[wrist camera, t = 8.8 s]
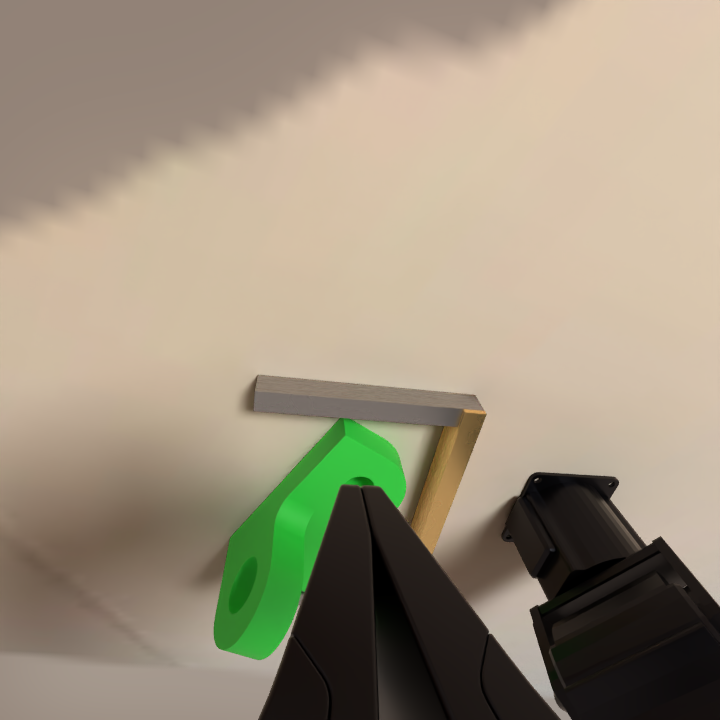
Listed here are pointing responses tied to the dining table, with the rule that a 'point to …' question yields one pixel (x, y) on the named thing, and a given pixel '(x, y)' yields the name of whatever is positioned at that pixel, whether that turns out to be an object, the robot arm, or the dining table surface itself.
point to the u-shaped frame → (391, 405)
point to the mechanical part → (294, 537)
